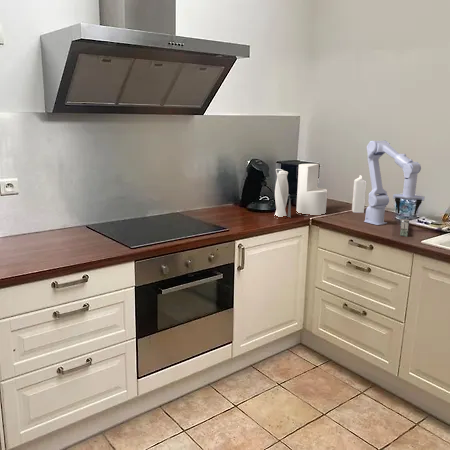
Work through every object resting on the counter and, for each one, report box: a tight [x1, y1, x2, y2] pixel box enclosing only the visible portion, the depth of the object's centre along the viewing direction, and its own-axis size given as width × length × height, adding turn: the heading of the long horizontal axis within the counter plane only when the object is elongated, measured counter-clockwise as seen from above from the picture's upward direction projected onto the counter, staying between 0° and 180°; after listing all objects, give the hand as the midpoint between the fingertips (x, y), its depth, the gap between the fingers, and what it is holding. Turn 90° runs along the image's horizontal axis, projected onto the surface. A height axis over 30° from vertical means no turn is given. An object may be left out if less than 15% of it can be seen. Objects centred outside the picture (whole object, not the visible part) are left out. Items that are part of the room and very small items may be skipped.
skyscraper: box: [274, 168, 292, 218], centre depth 256 cm, size 8×8×28 cm
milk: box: [351, 174, 367, 214], centre depth 273 cm, size 6×6×22 cm
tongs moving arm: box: [399, 222, 407, 237], centre depth 232 cm, size 21×3×2 cm, turn 159°
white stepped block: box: [296, 163, 328, 216], centre depth 269 cm, size 17×17×28 cm
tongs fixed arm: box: [399, 218, 410, 237], centre depth 234 cm, size 24×4×3 cm, turn 159°
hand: (406, 213), depth 229 cm, fingers open, 7 cm apart
